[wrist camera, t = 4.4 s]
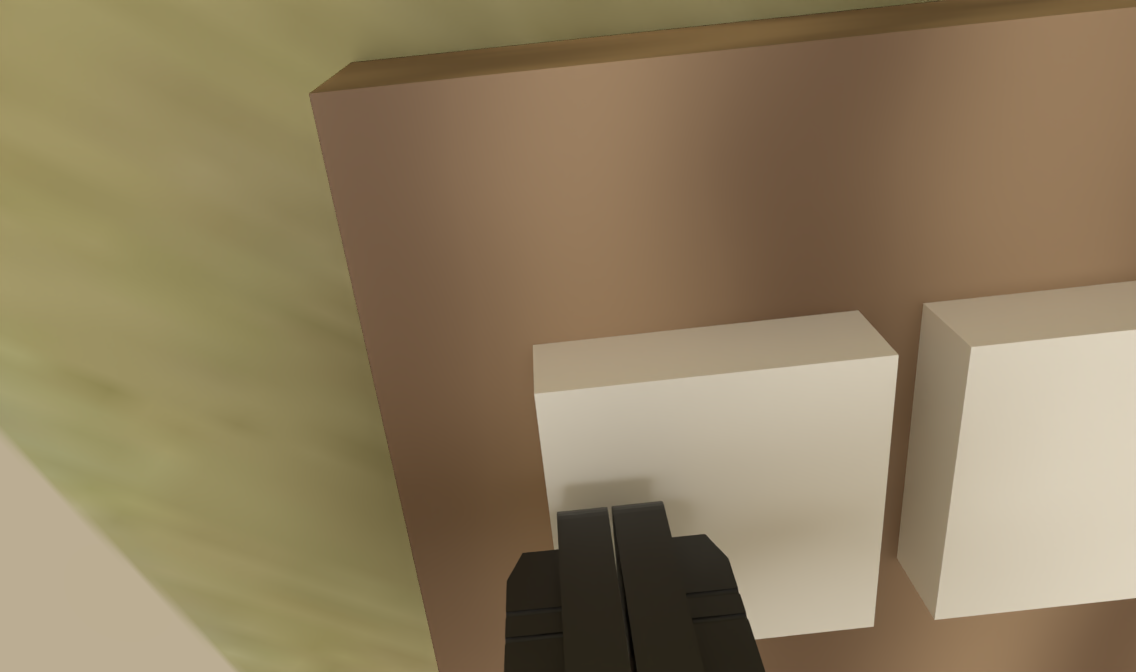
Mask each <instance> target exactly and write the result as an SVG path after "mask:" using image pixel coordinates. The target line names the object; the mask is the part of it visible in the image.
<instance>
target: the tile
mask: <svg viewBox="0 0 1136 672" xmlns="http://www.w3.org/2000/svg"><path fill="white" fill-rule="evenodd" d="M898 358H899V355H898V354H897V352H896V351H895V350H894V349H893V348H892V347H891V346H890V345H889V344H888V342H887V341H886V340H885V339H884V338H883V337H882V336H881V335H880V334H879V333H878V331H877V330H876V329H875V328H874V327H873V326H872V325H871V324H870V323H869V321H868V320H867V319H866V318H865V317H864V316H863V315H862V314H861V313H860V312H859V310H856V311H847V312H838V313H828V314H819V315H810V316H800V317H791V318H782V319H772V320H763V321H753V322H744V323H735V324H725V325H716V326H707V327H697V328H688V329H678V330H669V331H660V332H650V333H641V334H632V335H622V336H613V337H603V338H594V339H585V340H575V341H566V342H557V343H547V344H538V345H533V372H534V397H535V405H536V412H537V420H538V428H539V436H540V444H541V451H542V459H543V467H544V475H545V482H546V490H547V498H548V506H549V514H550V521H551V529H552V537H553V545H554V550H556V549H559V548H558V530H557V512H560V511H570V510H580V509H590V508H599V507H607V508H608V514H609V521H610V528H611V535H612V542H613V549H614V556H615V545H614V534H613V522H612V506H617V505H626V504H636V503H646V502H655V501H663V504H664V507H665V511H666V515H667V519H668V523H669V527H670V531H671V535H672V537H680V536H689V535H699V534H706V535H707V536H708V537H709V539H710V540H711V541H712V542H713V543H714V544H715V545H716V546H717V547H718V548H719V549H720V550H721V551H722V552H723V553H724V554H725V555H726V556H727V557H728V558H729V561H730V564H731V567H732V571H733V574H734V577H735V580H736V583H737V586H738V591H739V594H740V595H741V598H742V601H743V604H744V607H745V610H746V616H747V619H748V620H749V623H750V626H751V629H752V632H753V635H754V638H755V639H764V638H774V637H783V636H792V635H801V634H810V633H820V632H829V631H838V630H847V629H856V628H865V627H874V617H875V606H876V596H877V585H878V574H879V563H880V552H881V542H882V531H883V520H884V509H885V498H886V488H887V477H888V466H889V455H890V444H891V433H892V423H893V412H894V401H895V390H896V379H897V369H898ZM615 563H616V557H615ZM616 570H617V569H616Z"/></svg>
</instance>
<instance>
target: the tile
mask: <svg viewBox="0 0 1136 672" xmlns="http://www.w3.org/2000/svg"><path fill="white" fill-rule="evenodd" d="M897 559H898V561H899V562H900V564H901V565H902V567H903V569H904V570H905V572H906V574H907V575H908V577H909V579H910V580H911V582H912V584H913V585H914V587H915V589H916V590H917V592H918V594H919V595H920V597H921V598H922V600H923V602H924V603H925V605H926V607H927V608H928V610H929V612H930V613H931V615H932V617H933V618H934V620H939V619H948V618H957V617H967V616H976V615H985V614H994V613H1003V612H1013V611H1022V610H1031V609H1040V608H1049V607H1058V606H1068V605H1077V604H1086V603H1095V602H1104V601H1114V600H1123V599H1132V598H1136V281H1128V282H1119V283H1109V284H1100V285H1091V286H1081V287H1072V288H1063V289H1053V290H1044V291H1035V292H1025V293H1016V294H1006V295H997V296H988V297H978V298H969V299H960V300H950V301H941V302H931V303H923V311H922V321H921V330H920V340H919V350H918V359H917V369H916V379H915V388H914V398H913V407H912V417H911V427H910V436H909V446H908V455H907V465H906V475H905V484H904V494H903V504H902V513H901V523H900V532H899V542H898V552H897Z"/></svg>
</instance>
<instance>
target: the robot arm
mask: <svg viewBox="0 0 1136 672" xmlns="http://www.w3.org/2000/svg"><path fill="white" fill-rule="evenodd" d="M612 522H613V534H614V545H615V556H614V549H613V542H612V535H611V528H610V521H609V514H608V508H607V507H599V508H590V509H580V510H570V511H560V512H557V530H558V548H559V549H556V550H546V551H536V552H527V553H522V555H521V556H520V558H519V560H518V562H517V564H516V565H515V567H514V569H513V571H512V572H511V574H510V576H509V578H508V580H507V586H506V620H505V654H504V672H765V669H764V666H763V663H762V659H761V656H760V653H759V650H758V647H757V644H756V641H755V638H754V635H753V632H752V629H751V626H750V623H749V620H748V619H747V616H746V610H745V607H744V604H743V601H742V598H741V595H740V594H739V591H738V586H737V583H736V580H735V577H734V574H733V571H732V567H731V564H730V561H729V558H728V557H727V556H726V555H725V554H724V553H723V552H722V551H721V550H720V549H719V548H718V547H717V546H716V545H715V544H714V543H713V542H712V541H711V540H710V539H709V537H708V536H707V535H706V534H699V535H689V536H680V537H672V535H671V531H670V527H669V523H668V519H667V515H666V511H665V507H664V504H663V501H655V502H646V503H636V504H626V505H617V506H612ZM615 557H616V563H615ZM616 569H617V570H616Z"/></svg>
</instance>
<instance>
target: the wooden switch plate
mask: <svg viewBox="0 0 1136 672" xmlns="http://www.w3.org/2000/svg"><path fill="white" fill-rule="evenodd" d="M309 96H310V101H311V105H312V110H313V114H314V119H315V123H316V127H317V132H318V136H319V141H320V145H321V150H322V154H323V159H324V163H325V167H326V172H327V176H328V181H329V185H330V190H331V194H332V199H333V203H334V207H335V212H336V216H337V221H338V225H339V230H340V234H341V239H342V243H343V247H344V252H345V256H346V261H347V265H348V270H349V274H350V279H351V283H352V287H353V292H354V296H355V301H356V305H357V310H358V314H359V319H360V323H361V327H362V332H363V336H364V341H365V345H366V350H367V354H368V359H369V363H370V367H371V372H372V376H373V381H374V385H375V390H376V394H377V399H378V403H379V407H380V412H381V416H382V421H383V425H384V430H385V434H386V439H387V443H388V448H389V452H390V456H391V461H392V465H393V470H394V474H395V479H396V483H397V488H398V492H399V496H400V501H401V505H402V510H403V514H404V519H405V523H406V528H407V532H408V536H409V541H410V545H411V550H412V554H413V559H414V563H415V568H416V572H417V576H418V581H419V585H420V590H421V594H422V599H423V603H424V608H425V612H426V616H427V621H428V625H429V630H430V634H431V639H432V643H433V648H434V652H435V656H436V661H437V665H438V670H439V672H504V654H505V620H506V586H507V580H508V578H509V576H510V574H511V572H512V571H513V569H514V567H515V565H516V564H517V562H518V560H519V558H520V556H521V555H522V553H527V552H536V551H546V550H554V545H553V537H552V529H551V521H550V514H549V506H548V498H547V490H546V482H545V475H544V467H543V459H542V451H541V444H540V436H539V428H538V420H537V412H536V405H535V397H534V372H533V345H538V344H547V343H557V342H566V341H575V340H585V339H594V338H603V337H613V336H622V335H632V334H641V333H650V332H660V331H669V330H678V329H688V328H697V327H707V326H716V325H725V324H735V323H744V322H753V321H763V320H772V319H782V318H791V317H800V316H810V315H819V314H828V313H838V312H847V311H856V310H859V312H860V313H861V314H862V315H863V316H864V317H865V318H866V319H867V320H868V321H869V323H870V324H871V325H872V326H873V327H874V328H875V329H876V330H877V331H878V333H879V334H880V335H881V336H882V337H883V338H884V339H885V340H886V341H887V342H888V344H889V345H890V346H891V347H892V348H893V349H894V350H895V351H896V352H897V354H898V355H899V358H898V369H897V379H896V390H895V401H894V412H893V423H892V433H891V444H890V455H889V466H888V477H887V488H886V498H885V509H884V520H883V531H882V542H881V552H880V563H879V574H878V585H877V596H876V606H875V617H874V627H865V628H856V629H847V630H838V631H829V632H820V633H810V634H801V635H792V636H783V637H774V638H764V639H755V641H756V644H757V647H758V650H759V653H760V656H761V659H762V663H763V666H764V669H765V672H1136V598H1132V599H1123V600H1114V601H1104V602H1095V603H1086V604H1077V605H1068V606H1058V607H1049V608H1040V609H1031V610H1022V611H1013V612H1003V613H994V614H985V615H976V616H967V617H957V618H948V619H939V620H934V618H933V617H932V615H931V613H930V612H929V610H928V608H927V607H926V605H925V603H924V602H923V600H922V598H921V597H920V595H919V594H918V592H917V590H916V589H915V587H914V585H913V584H912V582H911V580H910V579H909V577H908V575H907V574H906V572H905V570H904V569H903V567H902V565H901V564H900V562H899V561H898V559H897V552H898V542H899V532H900V523H901V513H902V504H903V494H904V484H905V475H906V465H907V455H908V446H909V436H910V427H911V417H912V407H913V398H914V388H915V379H916V369H917V359H918V350H919V340H920V330H921V321H922V311H923V303H931V302H941V301H950V300H960V299H969V298H978V297H988V296H997V295H1006V294H1016V293H1025V292H1035V291H1044V290H1053V289H1063V288H1072V287H1081V286H1091V285H1100V284H1109V283H1119V282H1128V281H1136V0H944V1H934V2H925V3H915V4H906V5H896V6H886V7H877V8H867V9H858V10H848V11H839V12H829V13H820V14H810V15H801V16H791V17H781V18H772V19H762V20H753V21H743V22H734V23H724V24H715V25H705V26H695V27H686V28H676V29H667V30H657V31H648V32H638V33H629V34H619V35H610V36H600V37H590V38H581V39H571V40H562V41H552V42H543V43H533V44H524V45H514V46H504V47H495V48H485V49H476V50H466V51H457V52H447V53H438V54H428V55H419V56H409V57H399V58H390V59H380V60H371V61H361V62H352V63H350V64H349V65H347V66H346V67H345V68H343V69H342V70H340V71H339V72H338V73H336V74H335V75H334V76H332V77H331V78H330V79H328V80H327V81H325V82H324V83H323V84H321V85H320V86H319V87H317V88H316V89H315V90H313V91H312V92H311V93H309Z"/></svg>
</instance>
